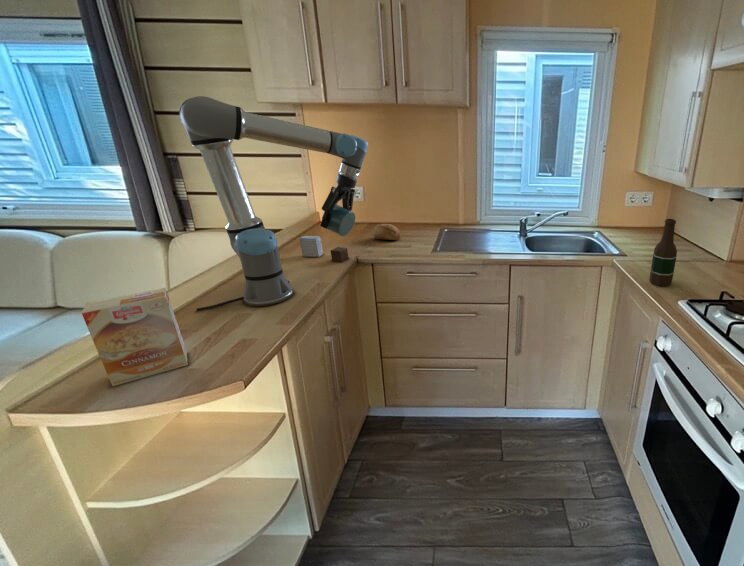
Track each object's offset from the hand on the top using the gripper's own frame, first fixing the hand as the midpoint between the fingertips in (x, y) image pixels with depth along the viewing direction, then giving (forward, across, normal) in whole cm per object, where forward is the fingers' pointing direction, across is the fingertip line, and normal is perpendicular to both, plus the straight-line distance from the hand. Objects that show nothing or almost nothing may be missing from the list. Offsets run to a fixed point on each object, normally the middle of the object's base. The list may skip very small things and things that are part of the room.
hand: (332, 226), depth 166 cm
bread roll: (+7, +41, -8) cm, 43 cm away
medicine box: (+20, +12, +11) cm, 26 cm away
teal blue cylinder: (-4, 0, -6) cm, 7 cm away
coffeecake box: (+30, -75, -8) cm, 81 cm away
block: (+10, +8, -2) cm, 13 cm away
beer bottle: (-34, +8, -127) cm, 132 cm away
